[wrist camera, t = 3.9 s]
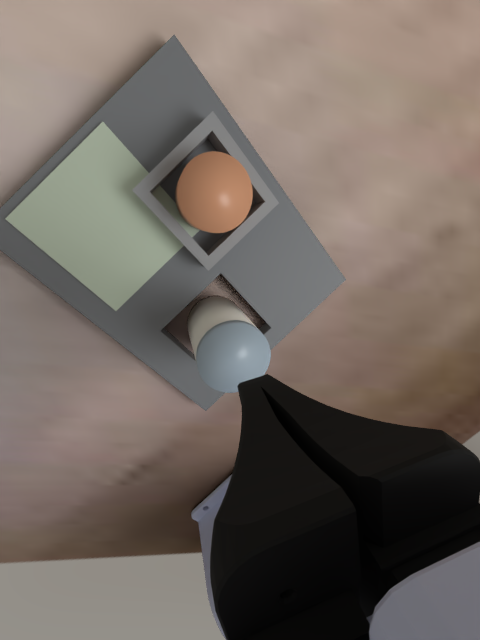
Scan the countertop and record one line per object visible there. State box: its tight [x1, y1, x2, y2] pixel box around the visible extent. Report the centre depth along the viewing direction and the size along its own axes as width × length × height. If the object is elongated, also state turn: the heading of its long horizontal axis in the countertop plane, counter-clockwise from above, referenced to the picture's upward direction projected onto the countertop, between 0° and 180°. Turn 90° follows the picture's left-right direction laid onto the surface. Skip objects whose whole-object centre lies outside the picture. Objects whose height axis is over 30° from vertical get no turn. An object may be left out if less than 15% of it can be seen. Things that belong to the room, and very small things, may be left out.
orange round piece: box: [175, 151, 253, 233], centre depth 15 cm, size 4×4×3 cm
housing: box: [0, 35, 346, 411], centre depth 18 cm, size 14×17×3 cm
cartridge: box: [187, 296, 271, 393], centre depth 18 cm, size 4×4×6 cm
